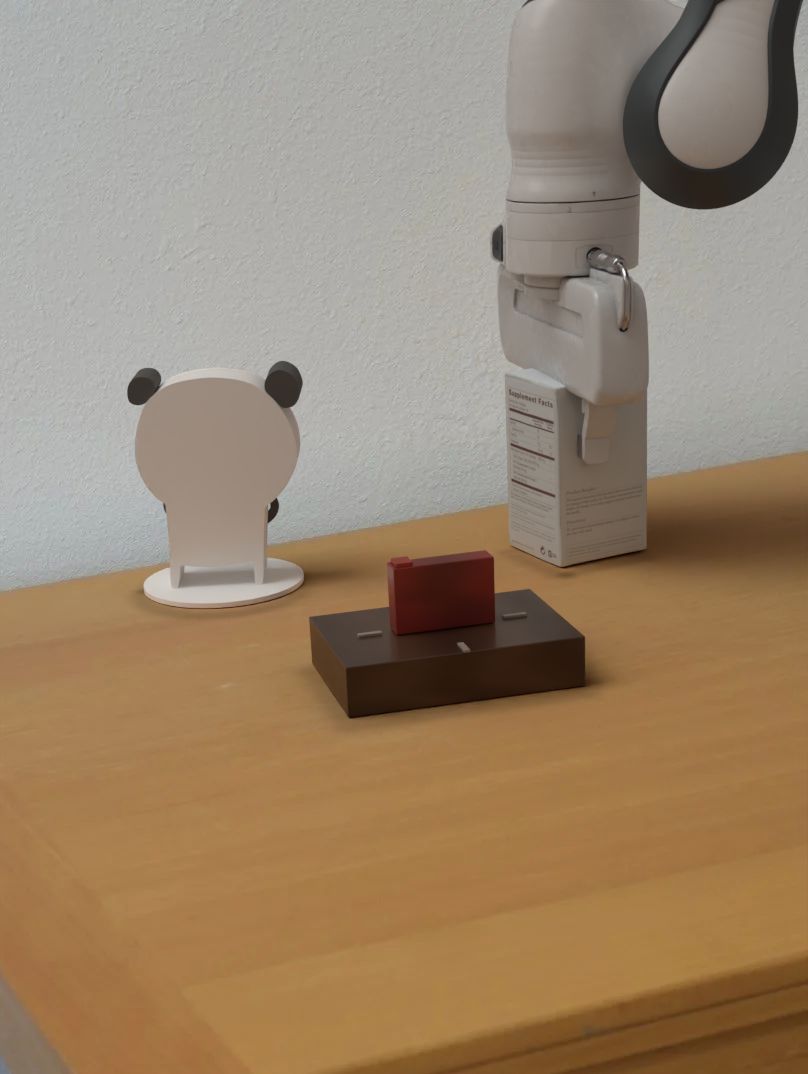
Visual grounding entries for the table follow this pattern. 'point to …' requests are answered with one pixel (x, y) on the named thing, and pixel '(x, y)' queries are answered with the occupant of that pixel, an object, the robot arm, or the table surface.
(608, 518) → the white packaging box
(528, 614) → the stamp base
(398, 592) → the red rectangular block
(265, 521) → the panda figurine
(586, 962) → the table surface
